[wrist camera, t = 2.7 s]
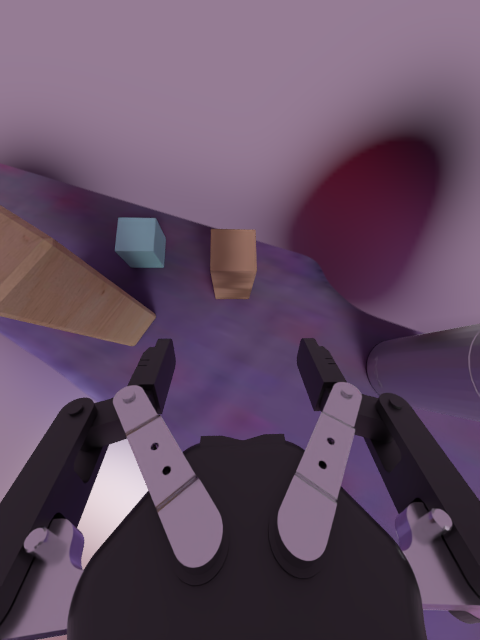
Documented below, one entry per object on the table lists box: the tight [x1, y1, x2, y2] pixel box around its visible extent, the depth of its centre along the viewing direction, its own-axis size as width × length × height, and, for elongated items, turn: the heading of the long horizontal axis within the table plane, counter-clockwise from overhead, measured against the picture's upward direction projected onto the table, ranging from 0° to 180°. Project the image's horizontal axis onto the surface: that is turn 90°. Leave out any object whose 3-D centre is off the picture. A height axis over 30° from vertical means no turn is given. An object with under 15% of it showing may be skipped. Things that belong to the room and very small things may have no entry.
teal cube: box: [115, 217, 166, 268], centre depth 32 cm, size 5×5×5 cm
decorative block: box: [0, 205, 156, 346], centre depth 23 cm, size 11×6×20 cm, turn 57°
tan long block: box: [210, 229, 257, 299], centre depth 29 cm, size 5×5×10 cm
